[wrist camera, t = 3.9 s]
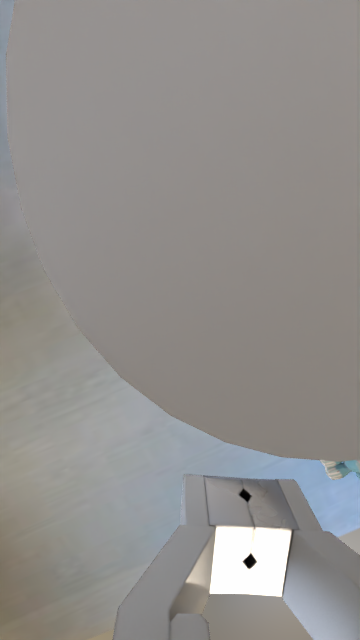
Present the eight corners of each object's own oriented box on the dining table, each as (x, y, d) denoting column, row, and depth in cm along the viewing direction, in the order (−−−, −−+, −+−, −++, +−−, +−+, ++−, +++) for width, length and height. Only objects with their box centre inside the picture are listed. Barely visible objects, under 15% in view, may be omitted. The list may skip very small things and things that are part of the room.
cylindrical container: (151, 208, 27) (-115, -275, 2) (231, 192, 27) (859, -513, 2) (166, 288, 28) (104, 505, 4) (243, 274, 28) (695, 405, 4)
